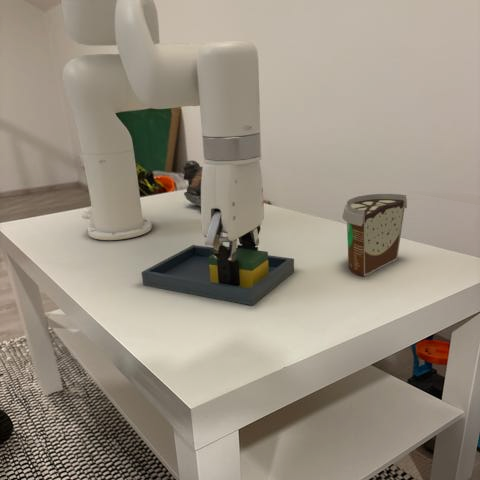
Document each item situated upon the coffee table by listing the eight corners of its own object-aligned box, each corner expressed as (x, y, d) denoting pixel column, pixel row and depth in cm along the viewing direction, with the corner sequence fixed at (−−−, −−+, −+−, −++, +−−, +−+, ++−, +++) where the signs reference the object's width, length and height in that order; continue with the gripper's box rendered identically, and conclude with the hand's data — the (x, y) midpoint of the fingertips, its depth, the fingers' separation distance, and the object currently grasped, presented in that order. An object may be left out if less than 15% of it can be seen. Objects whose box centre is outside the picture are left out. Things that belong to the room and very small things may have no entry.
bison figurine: (233, 208, 115) (230, 162, 110) (207, 215, 111) (204, 167, 106) (202, 200, 123) (198, 157, 119) (177, 206, 119) (173, 162, 115)
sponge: (210, 282, 74) (208, 256, 72) (227, 271, 78) (226, 246, 76) (253, 289, 71) (251, 262, 69) (268, 277, 75) (268, 251, 73)
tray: (143, 285, 76) (141, 272, 75) (193, 256, 87) (192, 244, 86) (252, 305, 68) (251, 291, 67) (294, 271, 78) (294, 258, 77)
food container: (368, 249, 86) (372, 189, 81) (402, 257, 82) (408, 194, 77) (324, 270, 78) (325, 205, 74) (358, 279, 74) (362, 211, 70)
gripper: (238, 139, 75) (244, 257, 83) (170, 158, 61) (185, 296, 70) (285, 140, 71) (286, 262, 79) (223, 161, 58) (232, 305, 66)
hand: (239, 277), depth 74 cm, fingers closed on sponge, 5 cm apart
